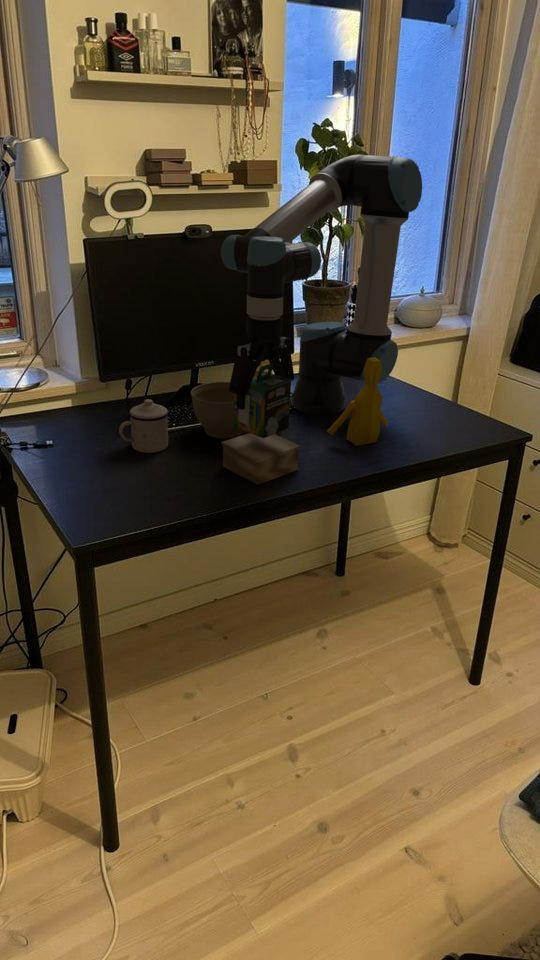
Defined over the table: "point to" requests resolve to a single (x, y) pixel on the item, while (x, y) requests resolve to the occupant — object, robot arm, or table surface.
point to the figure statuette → (364, 408)
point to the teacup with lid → (147, 427)
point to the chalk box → (266, 404)
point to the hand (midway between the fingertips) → (261, 417)
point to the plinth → (260, 457)
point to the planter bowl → (215, 409)
